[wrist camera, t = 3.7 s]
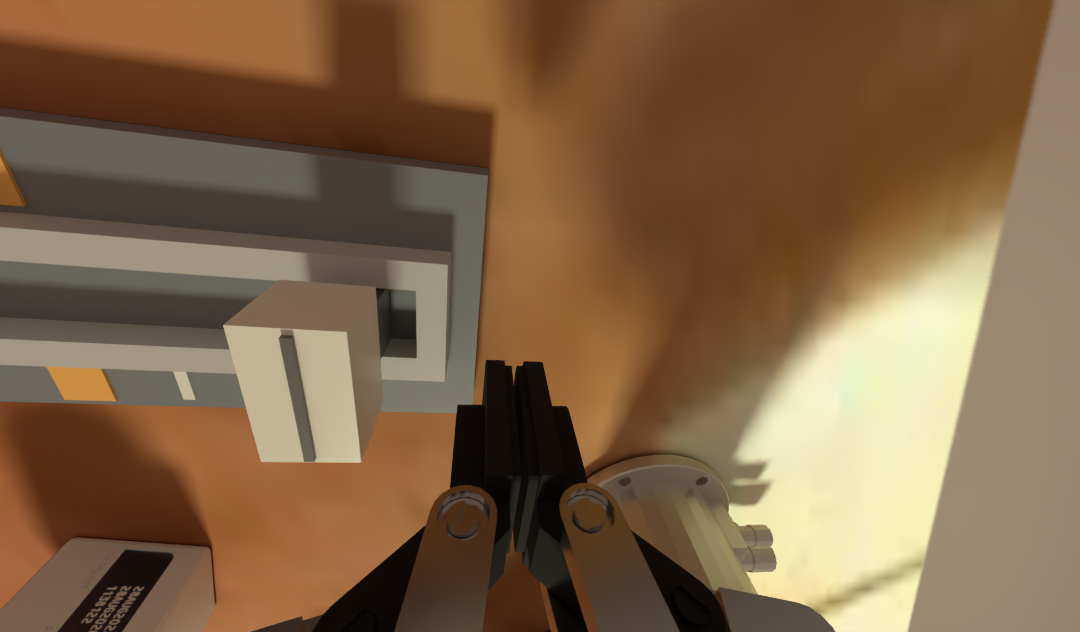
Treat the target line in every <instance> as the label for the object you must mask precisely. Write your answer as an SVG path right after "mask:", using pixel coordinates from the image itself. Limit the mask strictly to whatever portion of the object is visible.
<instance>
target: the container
mask: <svg viewBox="0 0 1080 632" xmlns="http://www.w3.org/2000/svg"><path fill="white" fill-rule="evenodd" d="M214 609H215V599H214V586H213V574H212V561H211V551H210V549H209V547H205V546H192V545H178V544H164V543H151V542H137V541H123V540H109V539H96V538H82V537H76V538H72V539H70V540H69V541H68V542H66V543H65V544H64V545H63V546H62V547H61V548H60V549H59V550H58V551H57V553H56V554H55V555H54V556H53V557H52V558H51V559H50V560H49V561H48V562H47V563H46V564H45V565H44V566H43V567H42V568H41V569H40V570H39V571H38V572H37V573H36V574H35V575H34V576H33V577H32V578H31V579H30V580H29V581H28V582H27V583H26V584H25V585H24V586H23V587H22V588H21V589H20V591H19V592H18V593H17V594H16V595H15V596H14V597H13V598H12V599H11V600H10V601H9V602H8V603H7V604H6V605H5V606H4V607H3V608H2V609H1V610H0V632H202V631H203V629H204V627H205V626H206V624H207V622H208V620H209V618H210V616H211V615H212V613H213V611H214Z"/></svg>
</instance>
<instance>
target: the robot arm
mask: <svg viewBox="0 0 1080 632" xmlns="http://www.w3.org/2000/svg"><path fill="white" fill-rule="evenodd" d="M728 511H729V497H728V493H727V490H726V488H725V487H724V485H723V483H722V482H721V480H720V478H719V477H718V476H717V474H716V473H715V472H714V471H713V470H712V469H711V468H710V467H708V466H706V465H705V464H703V463H702V462H700V461H697V460H694V459H691V458H689V457H683V456H677V455H649V456H641V457H636V458H632V459H629V460H625V461H621V462H619V463H616V464H614V465H612V466H609V467H607V468H605V469H603V470H601V471H599V472H598V473H596V474H594V475H592V476H591V477H589V478H588V479H587V477H586V473H585V470H584V466H583V462H582V458H581V455H580V451H579V447H578V443H577V439H576V436H575V432H574V428H573V424H572V420H571V417H570V413H569V410H568V408H567V407H566V406H552V404H551V399H550V395H549V390H548V385H547V381H546V376H545V371H544V367H543V363H542V362H527V361H524V362H523V366H517V367H516V373H515V380H514V386H513V375H512V366H505V361H500V360H486V365H485V377H484V389H483V401H482V405H459V404H458V405H457V415H456V426H455V438H454V449H453V461H452V472H451V484H450V489H448V490H447V491H445V492H444V493H442V494H441V495H440V496H439V497H438V498H437V499H436V500H435V502H434V504H433V506H432V508H431V510H430V513H429V517H428V520H427V523H426V525H425V526H424V527H423V528H422V529H421V530H420V531H418V532H417V533H416V534H415V535H414V536H413V537H411V538H410V539H409V540H408V541H407V542H406V543H404V544H403V545H402V546H401V547H400V548H399V549H397V550H396V551H395V552H394V553H393V554H392V555H390V556H389V557H388V558H387V559H386V560H385V561H383V562H382V563H381V564H380V565H379V566H378V567H376V568H375V569H374V570H373V571H372V572H370V573H369V574H368V575H367V576H366V577H365V578H363V579H362V580H361V581H360V582H359V583H358V584H356V585H355V586H354V587H353V588H352V589H351V590H349V591H348V592H347V593H346V594H345V595H344V596H342V597H341V598H340V599H339V600H338V601H337V602H335V603H334V604H333V605H332V606H331V607H330V608H329V609H328V610H327V611H326V612H325V613H324V614H323V615H319V616H316V617H313V618H310V619H307V620H303V618H302V616H300V617H297V618H294V619H291V620H287V621H284V622H281V623H278V624H274V625H271V626H268V627H265V628H261V629H258V630H255V631H252V632H482V631H483V623H484V615H485V608H486V600H487V592H488V591H489V590H490V588H491V587H492V586H493V585H494V584H495V583H496V581H497V580H498V579H499V578H500V577H501V576H502V574H503V572H504V566H505V560H506V554H507V553H509V549H510V543H511V537H512V531H513V536H514V549H515V552H522V558H523V566H529V571H530V573H531V574H532V575H533V576H534V577H536V578H537V579H538V580H539V581H540V587H541V594H542V598H543V602H544V606H545V610H546V614H547V618H548V622H549V626H550V630H551V632H835V631H834V629H833V627H832V626H831V625H830V624H829V623H828V622H827V621H826V620H825V619H824V618H823V617H822V616H821V615H820V614H818V613H817V612H816V611H814V610H813V609H811V608H810V607H808V606H805V605H802V604H800V603H796V602H791V601H786V600H782V599H777V598H772V597H767V596H762V595H758V593H757V592H756V590H755V588H754V586H753V584H752V582H751V581H750V579H749V577H748V575H747V573H746V571H747V572H772V571H774V570H775V569H776V563H777V562H776V557H775V554H774V552H773V549H772V548H771V547H770V546H771V545H772V543H773V537H772V533H771V531H770V529H769V528H768V527H767V526H766V525H746V526H739V525H737V524H736V523H735V522H733V520H732V519H731V517H730V515H729V513H728Z"/></svg>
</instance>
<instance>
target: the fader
mask: <svg viewBox="0 0 1080 632" xmlns="http://www.w3.org/2000/svg"><path fill="white" fill-rule="evenodd" d="M223 327H224V331H225V334H226V338H227V341H228V345H229V349H230V352H231V356H232V359H233V363H234V367H235V370H236V374H237V377H238V381H239V384H240V388H241V392H242V395H243V399H244V402H245V406H246V409H247V413H248V417H249V420H250V424H251V427H252V431H253V434H254V438H255V442H256V445H257V449H258V452H259V456H260V459H261V462H356V463H361V462H362V459H363V456H364V454H365V451H366V448H367V446H368V443H369V440H370V437H371V435H372V432H373V429H374V426H375V424H376V421H377V418H378V415H379V413H380V410H381V407H382V404H383V387H382V373H381V359H382V357H383V354H384V352H385V350H386V347H387V345H388V343H389V340H390V338H391V320H390V300H389V289H383V288H376V287H372V286H359V285H345V284H332V283H318V282H305V281H291V280H278V281H276V282H275V283H274V284H273V285H271V286H270V287H269V288H268V289H267V290H265V291H264V292H263V293H262V294H260V295H259V296H258V297H257V298H256V299H254V300H253V301H252V302H251V303H249V304H248V305H247V306H246V307H245V308H243V309H242V310H241V311H240V312H238V313H237V314H236V315H235V316H234V317H232V318H231V319H230V320H229V321H227V322H226V323H225V324H224V325H223Z"/></svg>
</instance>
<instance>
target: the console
mask: <svg viewBox="0 0 1080 632" xmlns="http://www.w3.org/2000/svg"><path fill="white" fill-rule="evenodd" d="M488 169H489V168H482V167H474V166H466V165H458V164H450V163H442V162H434V161H426V160H418V159H410V158H402V157H394V156H386V155H378V154H370V153H362V152H354V151H346V150H338V149H330V148H322V147H314V146H306V145H298V144H290V143H282V142H274V141H266V140H258V139H250V138H242V137H234V136H226V135H218V134H210V133H202V132H194V131H186V130H178V129H170V128H162V127H154V126H146V125H138V124H130V123H122V122H114V121H106V120H98V119H90V118H82V117H74V116H66V115H58V114H50V113H42V112H34V111H26V110H18V109H10V108H2V107H0V402H38V403H76V404H115V405H154V406H193V407H231V408H246V406H245V402H244V399H243V395H242V392H241V388H240V384H239V381H238V377H237V374H236V370H235V367H234V363H233V359H232V356H231V352H230V349H229V345H228V341H227V338H226V334H225V331H224V327H223V325H224V324H225V323H226V322H227V321H229V320H230V319H231V318H232V317H234V316H235V315H236V314H237V313H238V312H240V311H241V310H242V309H243V308H245V307H246V306H247V305H248V304H249V303H251V302H252V301H253V300H254V299H256V298H257V297H258V296H259V295H260V294H262V293H263V292H264V291H265V290H267V289H268V288H269V287H270V286H271V285H273V284H274V283H275V282H276V281H278V280H291V281H305V282H318V283H332V284H345V285H359V286H372V287H376V288H383V289H389V300H390V320H391V338H390V340H389V343H388V345H387V347H386V350H385V352H384V354H383V357H382V359H381V373H382V387H383V404H382V407H381V410H380V411H386V412H425V413H457V405H458V404H459V405H473V391H474V377H475V362H476V347H477V332H478V318H479V303H480V288H481V274H482V259H483V244H484V229H485V215H486V200H487V185H488Z"/></svg>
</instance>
